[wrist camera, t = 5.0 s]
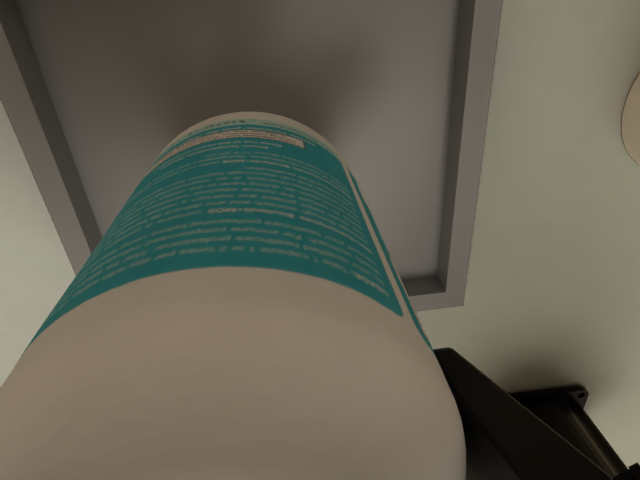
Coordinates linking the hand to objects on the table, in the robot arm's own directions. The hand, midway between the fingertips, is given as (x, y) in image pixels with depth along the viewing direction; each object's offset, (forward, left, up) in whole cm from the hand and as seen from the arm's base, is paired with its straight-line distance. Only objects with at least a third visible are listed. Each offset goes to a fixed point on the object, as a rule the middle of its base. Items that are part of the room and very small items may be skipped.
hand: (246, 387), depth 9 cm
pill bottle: (0, 0, -8) cm, 8 cm away
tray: (0, 0, -13) cm, 13 cm away
